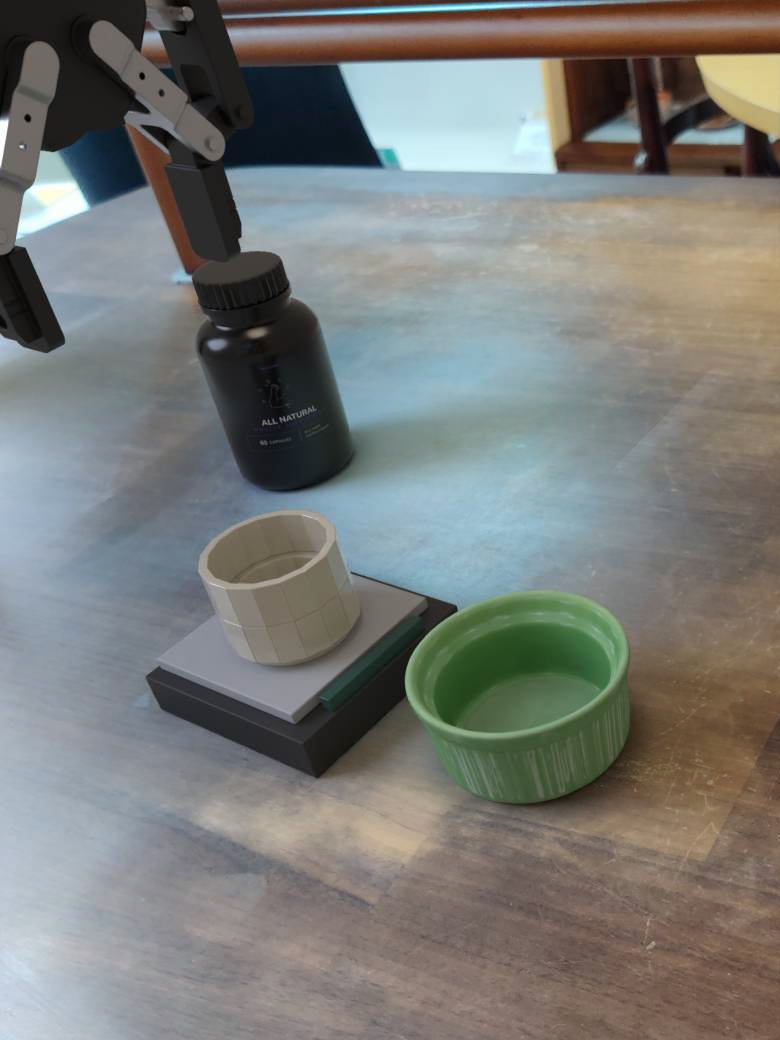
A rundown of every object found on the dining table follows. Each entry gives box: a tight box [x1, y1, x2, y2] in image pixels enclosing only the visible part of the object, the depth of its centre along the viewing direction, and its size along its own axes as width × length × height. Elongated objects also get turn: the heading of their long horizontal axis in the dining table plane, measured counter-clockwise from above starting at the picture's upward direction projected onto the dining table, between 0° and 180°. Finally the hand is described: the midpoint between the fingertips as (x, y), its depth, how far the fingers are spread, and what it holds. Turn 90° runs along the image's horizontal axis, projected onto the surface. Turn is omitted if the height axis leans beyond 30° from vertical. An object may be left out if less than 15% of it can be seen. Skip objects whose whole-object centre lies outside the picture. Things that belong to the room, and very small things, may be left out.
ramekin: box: [405, 589, 631, 805], centre depth 49 cm, size 9×9×4 cm
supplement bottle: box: [191, 250, 354, 491], centre depth 67 cm, size 7×7×12 cm
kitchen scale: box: [144, 570, 459, 778], centre depth 54 cm, size 10×10×3 cm
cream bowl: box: [197, 509, 360, 666], centre depth 52 cm, size 6×6×4 cm
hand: (136, 299), depth 46 cm, fingers open, 8 cm apart
